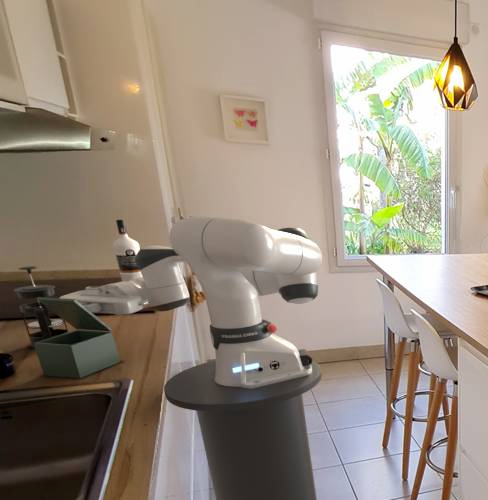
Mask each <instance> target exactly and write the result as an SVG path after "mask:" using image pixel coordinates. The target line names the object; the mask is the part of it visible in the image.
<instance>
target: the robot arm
mask: <svg viewBox="0 0 488 500" xmlns="http://www.w3.org/2000/svg"><path fill="white" fill-rule="evenodd" d="M168 236H169V243H170V246H165V245H148V246H147V245H146V246H145V247H142V248H140V250H139V251H138V253H137V255H136V257H135V262H136V264H137V266H138V268H139V270H140V271H141V274H142V276H143V277H140V278H135V279H132V280H130V281H123V282H122V281H118V282H113V283H109V284H104V285H92V286H91V285H90V286H86V287H85V288H84V289H82V290H77V291H74V292H70V293H68V294H64V295H61V296H60V297H59V298H60V299H75V300H76V301H78V302H79V303H80V304H81V305H83V306H84V307H85V308H86V309H88V310H89V311H90V312H91V313H93V314H94V313H97V314H110V315H111V314H113V315H116V316H124V315H131V314H134V313H136V312H139V311H141V310H143V309H147V308H148V309H149V310H153V311H156V312H168V311H173V310H176V309H179V308H181V307H185V305H186V304H187V303H188V302H189V300H190V298H191V296H190V293H189V290H188V287H187V284H186V282H185V279H184V275H183V273H182V270H181V268H180V263H186V264H187V265H188V267H189V268H190V269H191V271H192V273H193V275H194V276H195V278H196V279H197V282H198V283H199V285H200V288H201V289H202V292H203V295H204V297H205V302H206V307H207V311H208V315H209V320H210V325H209V334H210V341H211V344H212V346H213V348H214V353H215V360H216V372H215V379H214V381H215V382H216V383H217V384H219V385H223V386H232V387H243V388H248V389H252V388H257V387H261V386H265V385H269V384H273V383H278V382H282V381H286V380H290V379H294V378H299V377H303V376H307V375H309V374H310V373H311V372H312V367H311V363H312V361H314V360H313V357H311V356H310V355H308V352H307V349H306V348H301V349H298V348H297V347H296V345H294V344H293V343H292V342H291V341H288V340H286V339H285V338H283V337H280V336H278V335H277V334H275V333H276V331H277V329H278V328H277V326H276V325H275V324H274V323H272V322H271V321H269V320H267V319H264V318H262V317H263V316H262V312H261V304H260V298H259V297H263V296H268V295H269V296H270V295H274V294H279V295H280V297H281V298H282V299H283V300H284V301H285V302H287V303H289V304H290V303H291V304H295V305H303V304H307V303H310V302H311V301H314V300H315V299H316V298H317V297H318V295H319V285H318V283H317V282H318V281H317V280H318V279H317V271H319V269H320V268H321V267H322V263H323V253H322V250H321V248H320V247H319V245H317V244H316V243H315V242H313V241H311V240H310V238H309V236H308V233H306V232H305V231H304V230H303V229H301V228H300V227H299V228H297V227H291V226H290V227H289V226H288V227H287V226H286V227H282V228H278V229H273V228H269V227H266V226H264V225H262V224H259V223H257V222H254V221H251V220H246V219H242V218H241V219H240V218H230V217H229V218H228V217H216V216H202V215H196V216H190V217H185V218H181V219H178V220H176V221H175V223H173V225H172V226H171V227H170V231H169V235H168ZM308 360H309V361H308Z"/></svg>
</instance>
